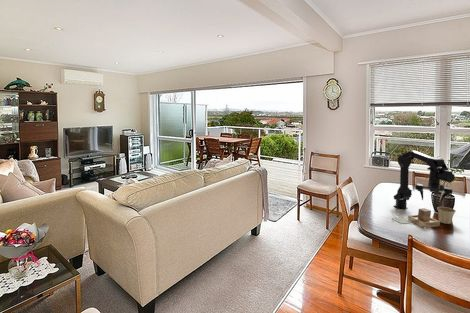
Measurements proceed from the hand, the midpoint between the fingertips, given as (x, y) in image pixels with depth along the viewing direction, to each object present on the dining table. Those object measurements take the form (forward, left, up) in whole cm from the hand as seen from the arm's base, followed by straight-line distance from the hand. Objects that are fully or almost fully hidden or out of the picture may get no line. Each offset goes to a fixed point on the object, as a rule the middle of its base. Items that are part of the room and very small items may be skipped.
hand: (431, 201), depth 169 cm
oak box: (+2, -7, -13) cm, 15 cm away
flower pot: (+4, +8, -14) cm, 16 cm away
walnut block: (+2, -7, -11) cm, 13 cm away
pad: (-4, -17, -13) cm, 22 cm away
